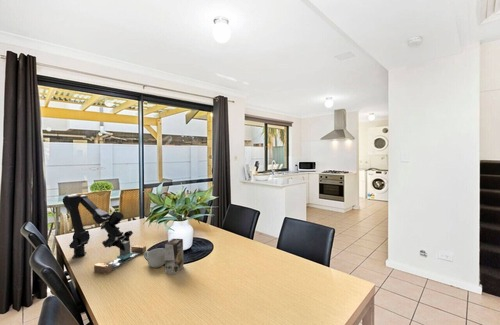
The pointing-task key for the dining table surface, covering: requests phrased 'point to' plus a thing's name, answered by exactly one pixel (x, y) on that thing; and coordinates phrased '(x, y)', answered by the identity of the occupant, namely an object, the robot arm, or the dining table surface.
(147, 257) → the teacup
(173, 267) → the coffee box
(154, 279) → the dining table surface
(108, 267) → the rail
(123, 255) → the grey teal block
